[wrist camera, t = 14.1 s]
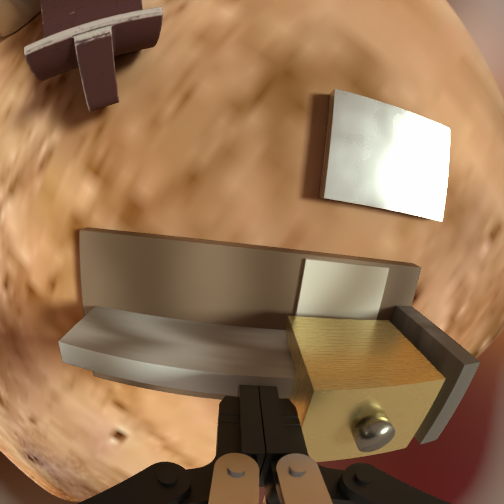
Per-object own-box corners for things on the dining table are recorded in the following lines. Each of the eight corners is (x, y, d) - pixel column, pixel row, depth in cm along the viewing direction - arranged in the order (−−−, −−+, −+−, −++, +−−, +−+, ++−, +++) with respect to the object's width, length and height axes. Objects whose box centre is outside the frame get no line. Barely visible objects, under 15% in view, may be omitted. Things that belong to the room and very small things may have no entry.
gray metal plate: (318, 197, 15) (323, 198, 14) (329, 94, 14) (335, 88, 13) (432, 219, 16) (441, 221, 15) (441, 130, 14) (449, 128, 13)
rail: (99, 368, 17) (49, 444, 9) (87, 227, 15) (-6, 261, 7) (372, 391, 18) (416, 467, 11) (412, 263, 16) (500, 310, 8)
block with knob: (274, 382, 15) (290, 477, 9) (287, 315, 14) (319, 406, 8) (367, 381, 16) (412, 458, 9) (388, 320, 15) (455, 388, 8)
